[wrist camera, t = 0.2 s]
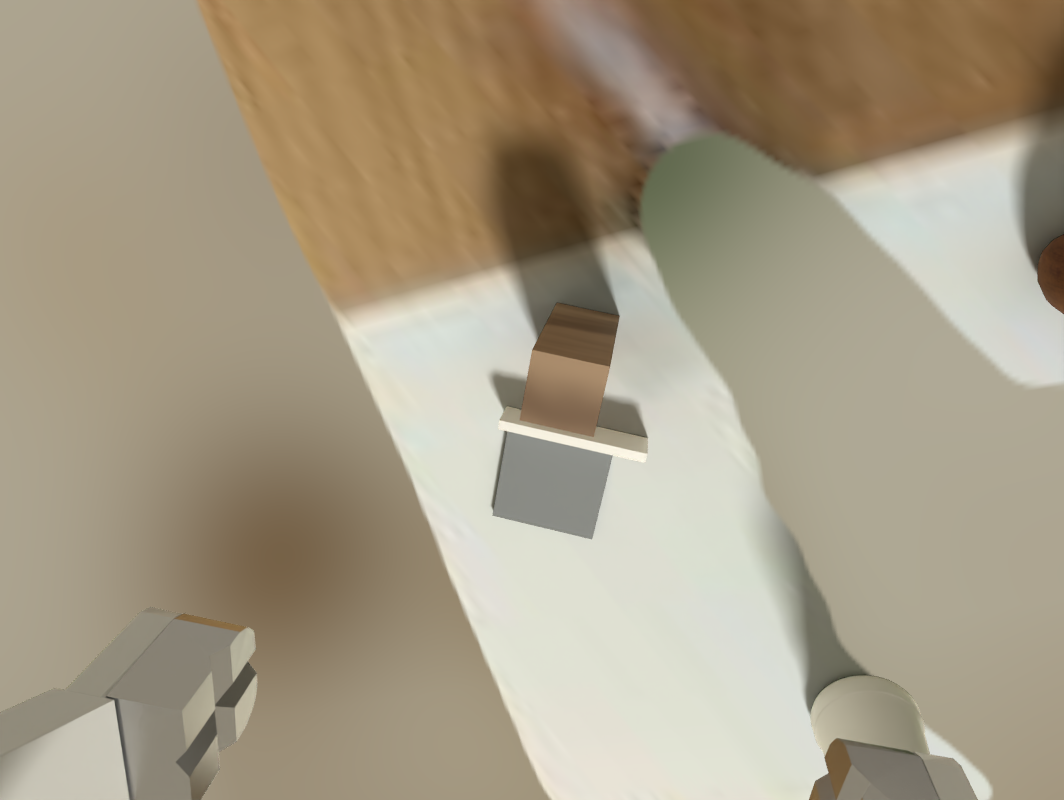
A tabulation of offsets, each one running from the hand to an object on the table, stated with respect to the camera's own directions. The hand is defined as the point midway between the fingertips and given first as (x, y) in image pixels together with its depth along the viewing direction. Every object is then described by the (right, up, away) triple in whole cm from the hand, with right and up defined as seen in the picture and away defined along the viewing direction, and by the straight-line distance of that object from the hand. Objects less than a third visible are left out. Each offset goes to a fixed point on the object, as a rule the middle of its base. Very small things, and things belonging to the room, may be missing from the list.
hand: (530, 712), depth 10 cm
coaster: (+2, -3, +53) cm, 53 cm away
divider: (+4, +2, +50) cm, 51 cm away
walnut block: (+4, +9, +48) cm, 49 cm away
